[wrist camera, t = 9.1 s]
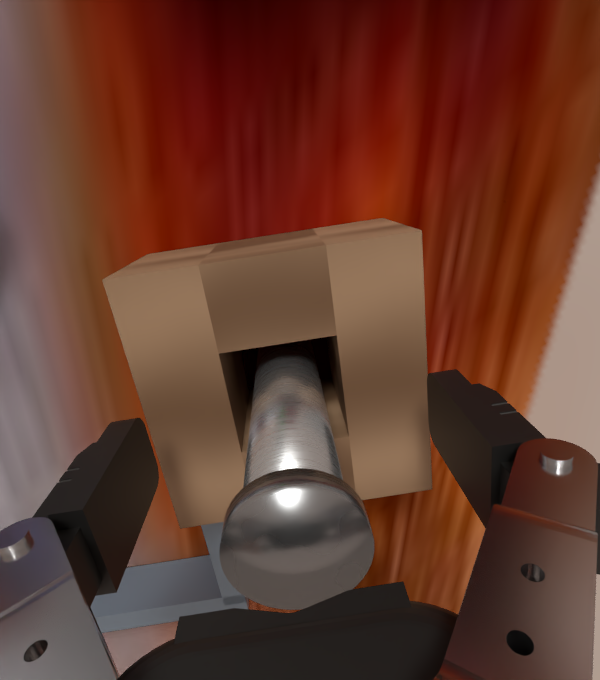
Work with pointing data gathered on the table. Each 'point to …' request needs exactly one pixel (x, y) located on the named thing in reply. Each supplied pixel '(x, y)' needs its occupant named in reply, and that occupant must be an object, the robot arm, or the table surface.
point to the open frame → (169, 590)
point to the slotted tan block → (272, 329)
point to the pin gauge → (293, 494)
